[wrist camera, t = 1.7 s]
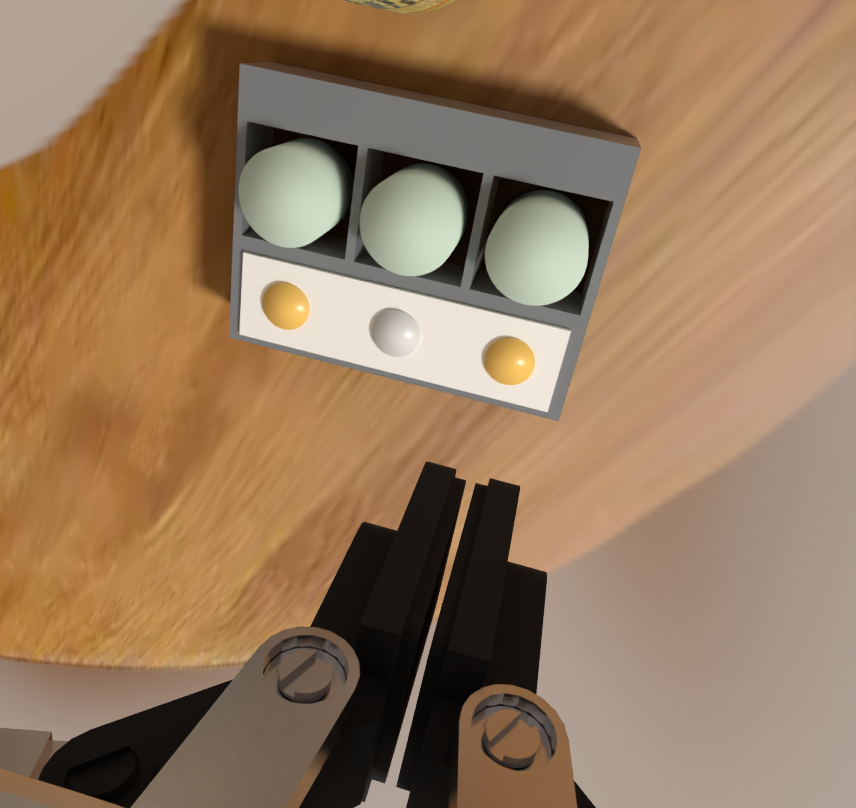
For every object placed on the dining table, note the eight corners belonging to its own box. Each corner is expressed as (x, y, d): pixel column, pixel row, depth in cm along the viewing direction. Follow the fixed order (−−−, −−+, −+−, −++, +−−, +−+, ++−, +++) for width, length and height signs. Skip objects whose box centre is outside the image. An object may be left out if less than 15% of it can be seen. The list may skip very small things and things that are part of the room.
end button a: (270, 128, 31) (240, 137, 28) (359, 148, 30) (336, 158, 28) (265, 220, 33) (236, 235, 30) (348, 239, 32) (326, 257, 30)
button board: (270, 61, 31) (235, 63, 28) (637, 138, 29) (641, 149, 26) (255, 316, 37) (225, 340, 34) (561, 392, 35) (558, 424, 32)
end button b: (505, 180, 30) (496, 194, 27) (600, 201, 29) (600, 217, 27) (485, 272, 32) (475, 292, 29) (574, 292, 31) (572, 316, 29)
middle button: (386, 154, 30) (366, 165, 28) (477, 174, 30) (466, 187, 27) (373, 245, 32) (354, 264, 30) (459, 265, 32) (447, 286, 29)
